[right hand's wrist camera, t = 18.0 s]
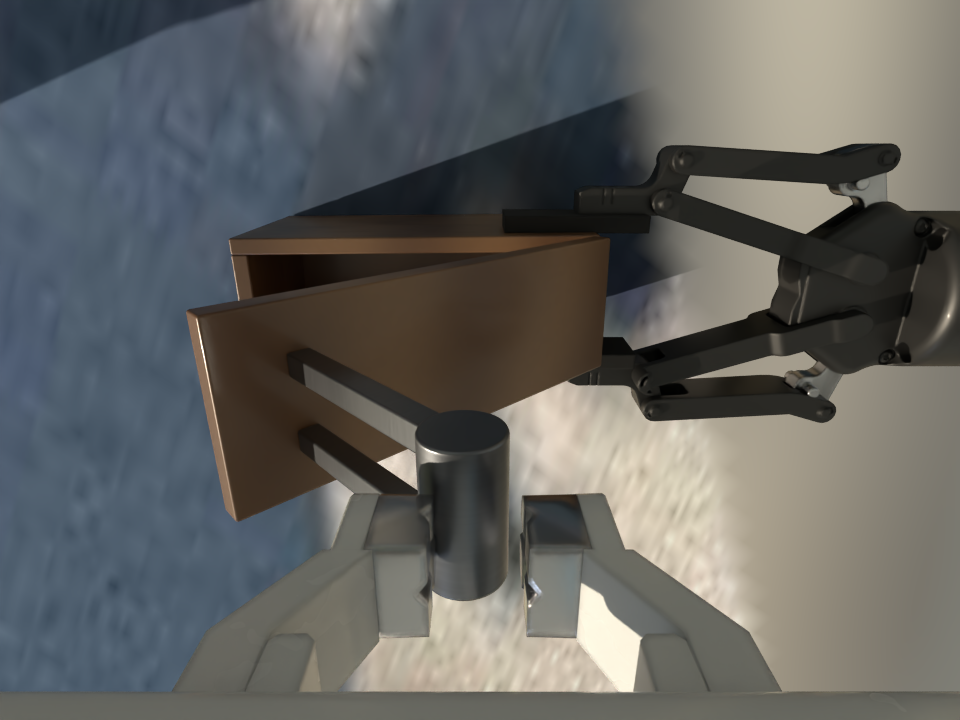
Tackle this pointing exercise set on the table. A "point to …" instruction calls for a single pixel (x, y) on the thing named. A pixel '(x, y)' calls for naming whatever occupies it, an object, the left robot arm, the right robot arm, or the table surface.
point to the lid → (400, 387)
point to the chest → (366, 247)
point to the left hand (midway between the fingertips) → (503, 289)
